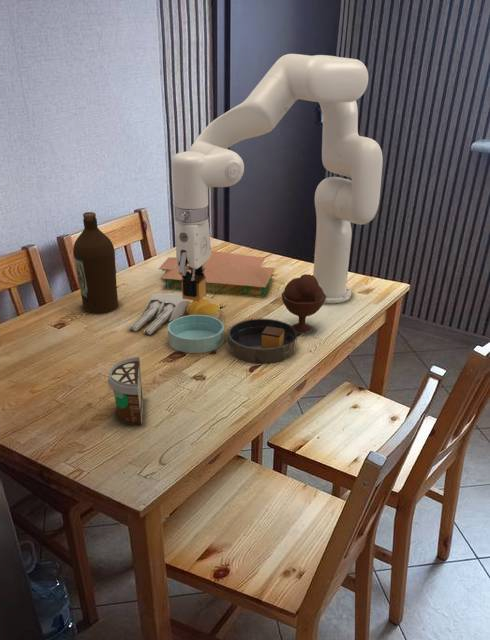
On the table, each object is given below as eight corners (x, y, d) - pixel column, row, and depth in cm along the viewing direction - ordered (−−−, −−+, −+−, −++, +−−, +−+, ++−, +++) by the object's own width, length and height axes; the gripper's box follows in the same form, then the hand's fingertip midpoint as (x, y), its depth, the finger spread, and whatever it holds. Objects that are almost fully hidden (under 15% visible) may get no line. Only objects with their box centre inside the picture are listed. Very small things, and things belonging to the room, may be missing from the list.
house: (176, 261, 212) (175, 235, 207) (279, 269, 206) (280, 243, 201) (153, 288, 194) (151, 260, 189) (265, 298, 188) (266, 270, 183)
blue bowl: (182, 326, 173) (181, 311, 170) (232, 334, 169) (232, 319, 167) (159, 349, 162) (158, 334, 160) (212, 359, 158) (211, 343, 156)
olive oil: (115, 296, 189) (104, 205, 174) (124, 310, 181) (115, 217, 166) (77, 302, 185) (63, 210, 171) (85, 317, 177) (72, 222, 163)
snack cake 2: (266, 344, 164) (266, 326, 161) (283, 346, 163) (284, 328, 160) (261, 351, 161) (261, 332, 158) (278, 354, 160) (279, 335, 157)
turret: (124, 336, 173) (121, 321, 169) (165, 298, 185) (162, 283, 182) (157, 345, 169) (154, 329, 166) (196, 305, 181) (194, 289, 178)
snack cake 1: (189, 292, 161) (188, 273, 158) (205, 295, 160) (205, 275, 157) (182, 298, 158) (181, 279, 155) (199, 301, 156) (199, 281, 154)
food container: (114, 398, 144) (109, 356, 138) (143, 397, 144) (139, 355, 138) (110, 430, 134) (104, 387, 128) (141, 428, 134) (137, 385, 129)
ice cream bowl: (328, 325, 174) (333, 269, 165) (313, 342, 165) (318, 284, 157) (290, 317, 177) (292, 262, 168) (274, 334, 169) (276, 277, 160)
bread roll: (203, 325, 173) (203, 311, 171) (182, 314, 179) (182, 300, 176) (228, 317, 178) (227, 303, 175) (207, 306, 183) (206, 292, 181)
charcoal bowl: (241, 330, 171) (241, 314, 169) (304, 339, 167) (305, 324, 164) (218, 358, 159) (217, 342, 156) (285, 370, 154) (286, 354, 152)
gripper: (192, 226, 140) (195, 308, 150) (220, 205, 153) (221, 281, 163) (159, 222, 142) (164, 303, 152) (190, 201, 155) (193, 277, 165)
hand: (194, 291), depth 158 cm, fingers closed on snack cake 1, 4 cm apart
